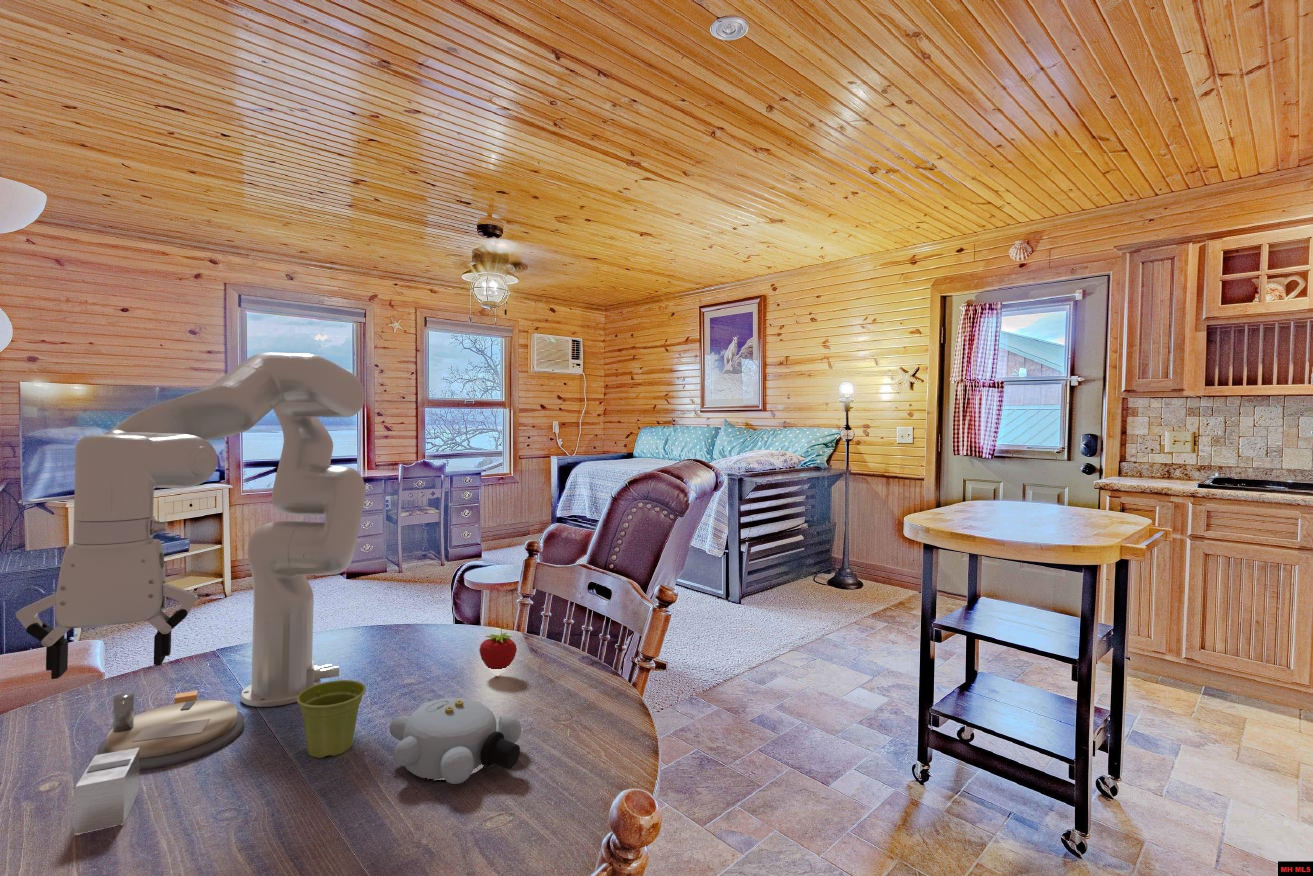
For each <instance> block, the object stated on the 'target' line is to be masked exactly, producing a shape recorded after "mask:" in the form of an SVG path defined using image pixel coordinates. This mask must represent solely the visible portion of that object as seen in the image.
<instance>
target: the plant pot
mask: <svg viewBox="0 0 1313 876" xmlns="http://www.w3.org/2000/svg"><path fill="white" fill-rule="evenodd" d="M366 691H367V687H366V685H365V684H364V683H363V682H361V681H359V680H358V681H357V680H352V679H349V680H348V679H339V680H332V681H325V682H321V683H320V684H317V685H314V686H311V687H309V688H307V689H305V690H303V691H302V692H301V693H299V695H298V696H297V702H296V703H297V704H298V705H299V707H300V711H301V713H302V719H303V725H304V733H305V739H306V740H305V741H306V750H307V751H306V752H307V754H308V755H309V756H310V757H313V758H318V759H319V758H320V759H322V758H325V757H326V756H333V757H335V756H339V755H342V754H343V753H345V752H347V751H349V749H350V748H351V747H352V745H353V744H354V743H353V742H354V737H355V731H356V725H357V720H358V714H359V708H360V704H361V703H362V700H363V696H364V694H365V693H366Z"/></svg>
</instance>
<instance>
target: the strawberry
mask: <svg viewBox="0 0 1313 876" xmlns="http://www.w3.org/2000/svg"><path fill="white" fill-rule="evenodd" d="M502 627H503V626H502V625H500V635H499V634H490V635H485V638H487V639H485V640H483V641H482V643H480V646H479V649H478V650H479V651H478V652H479V655H480V658H481V660H482V661H483V663H484V665H485V666H486V667H488V668H491V669H502V668H506V667H507V666H509V667H510V665H511V663H512V662H513V661H514V659H515V657H516V655H517V644H516V642H515V641H513V639H511V638H512V636H511V635H507V634H508V632H504V633H503V632H502V629H503V628H502ZM488 668H487V669H488Z"/></svg>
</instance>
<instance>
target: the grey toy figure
mask: <svg viewBox="0 0 1313 876" xmlns="http://www.w3.org/2000/svg"><path fill="white" fill-rule="evenodd" d="M497 727H498V728H497ZM389 734H390V735H391V737H393V738H394V739H396V740H397V741H399V742H398V743H397V744H396V746H395V748H394V750H393V759H394V762H395V763H396V764H397V765H399V766H402V767H405V768H406V770H407V771H409V772H410V773H411V774H413V775H415V776H417V777H419V778H422V779H425V778H427V779H426V780H429V779H440V778H441V779H442V778H444V779H445V780H446V781H445V782H447V783H448V784H452V785H458V784H462V783H463V782H465V781H467V780H468V779H469V778H470V775H471V773H472V771H473V769H475V768H477V767H478V766H479V765H481V764H482V765H484V766H485V767H491V765H492V766H493V765H496V766H498V767H501V768H503V769H506V770H511V769H513V768H514V767H515V766H516V764H517V763H518V760H519V758H520V755H521V754H520V753H521V747H520V745H519V744H517V742H518V741H519V739H520V737H521V734H522V725H521V722H520V720H519V719H518V718H516V716H513V715H511V714H505V715H500V716H499V719H498V726H497V719H496V717H495V714H494V713H493V711H492V710H491V709H490V708H489V707H487V706H486V705H484V704H483V703H482V702H480V701H479V700H472V699H470V698H464V697H462V698H461V697H447V698H441V699H435V700H433V701H426V702H423V703H421V704H420V705H419V706H418V708H417V709H416V710H415V711H413V712H412V713H411V715H399V716H397V717H395V718H393V720H392V721H391V723H390V726H389ZM471 776H472V775H471Z"/></svg>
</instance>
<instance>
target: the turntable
mask: <svg viewBox="0 0 1313 876" xmlns="http://www.w3.org/2000/svg"><path fill="white" fill-rule="evenodd" d="M112 705H113V707H112V729H111V730H110V731H109V732H108V733H107V735H106V738H107V751H108V752H109V753H111V752H117V751H123V750H128V749H134V748H140V758H146V757H155V756H162V755H167V754H172V753H176V752H180V751H184V750H188V749H191V748H194V747H197V746H200V745H202V744H205V743H207V742H210V741H212V740H214V739H216V738H218V737H220V736H222V735H223V734H225V733H226V732H228V731H229V730H230V729H231V728H232V727H233V726H234V725H235V724H236V722H237V711H238V708H237V706H235V705H234V703H232V702H229V701H223V700H215V699H206V700H205V699H203V700H198V701H189V702H183V703H177V704H174V703H173V704H169V705H164V706H159V707H156V708H153V709H150V710H147V711H144V712H141V713H139V714H136V715H135V692H124V693H120V694H117V695H115V696H114V697H113V704H112Z"/></svg>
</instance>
